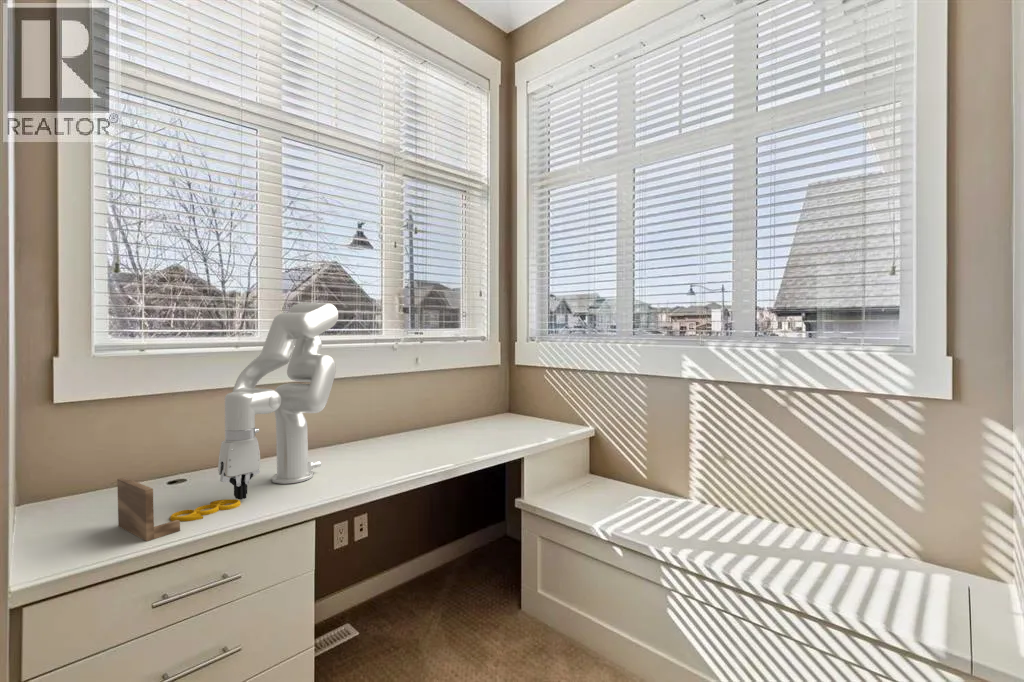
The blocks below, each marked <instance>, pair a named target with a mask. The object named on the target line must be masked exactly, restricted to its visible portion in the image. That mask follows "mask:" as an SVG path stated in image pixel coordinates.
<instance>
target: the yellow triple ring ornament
mask: <svg viewBox="0 0 1024 682" xmlns="http://www.w3.org/2000/svg"><path fill="white" fill-rule="evenodd" d="M241 503H242V501H241V500H239V499H236V498H235V499H231V498H230V499H229V498H226V499H217V500H213V501H211V502H209V503H208V504H203V505H201V506H198V507H196V508H195V509H182V510H178V511H175V512H173V513H172V514H171V515H170V516H169V517H170V518H169V520H170V522H172V521H175V520H179V521H180V522H191V521H192V522H193V521H198V520H202V519H204V516H209V515H212V514H216V513H217V512H219V511H228V510H233V509H236V508H239V507H240V506H241V505H242V504H241Z"/></svg>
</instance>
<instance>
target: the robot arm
mask: <svg viewBox="0 0 1024 682" xmlns="http://www.w3.org/2000/svg"><path fill="white" fill-rule="evenodd" d="M338 320H339V311H338V309H337V307H336V306H335V305H334V304H332V303H330V302H306V303H297V304H294V305H292V307H291V308H290V309H289V312H284V313H279V314H277V315H276V316H275V317H274V318H273V319H272V322H271V325H270V328H269V330H268V333H267V336H266V339H265V341H264V344H263V346H262V350H261V352H260V353H259V355H257V357H255V358H254V359H253V360H251V362H250V363H248V365H247V366H245V368H244V369H243V370H242V371H241V372H240V373H239V375H238V376H237V379H236V381H235V383H234V387H233V389H232V392H228V393H226V395H225V397H224V440H223V441H221V444H220V448H219V454H218V455H219V456H218V465H217V472H218V475H220V478H219V481H220V482H222V483H230V484H231V485H233V496H234V498H235V499H236V500H239V501H242V500H243V499H247V495H248V485H249V484H250V481H251V480H252V478H253V477H255V476H257V475H259V474H260V472H261V471H260V468H261V452H260V445H259V444H260V443H259V441H258V437H256V434H257V433H259V432H260V429H259V427H256V420H255V419H256V416H257V415H265V414H268V415H269V414H271V413H274V417H275V435H276V439H275V440H276V441H275V442H276V446H275V447H276V449H275V450H276V473H275V474H273V475H272V476H271V482H272V483H275V484H281V485H287V484H295V483H296V484H297V483H301V482H305V481H308V480H310V479H312V478H313V477H314V472H313V471H312V470H313V469H315V468H319V467H321V465H322V462H321V461H320V460H317V461H314V462H313V461H309V443H308V441H309V440H308V439H309V438H308V437H309V435H308V433H309V432H308V430H309V429H308V421H307V419H306V416H305V414H318V413H320V412H322V411H323V410H324V409H325V407H326V406H327V403H328V400H329V398H330V394H331V390H332V388H333V383H334V380H335V377H336V371H337V370H336V362H335V360H334V358H333V357H332V356H330V355H328V354H323V353H321V350H322V346H323V342H322V339H321V337H320V335H322V334H323V333H325V332H326V331H328V330H330V329H332V328H333V327H334V326H335V325H336V324H337V322H338ZM286 365H288V366H287V367H286V368H287V369H286V374H287V377H288V378H289V379H290V381H291V380H292V381H294V382H293V383H292V382H291V383H290V382H289V383H283V384H281V385H278V386H277V387H276V388H275V389H272V388H258V387H256V386H257V384H258V383H259V381H261V380H262V378H263V377H265V376H266V375H267V374H269V373H271V372H274V371H275V370H276V371H277V370H279V369H280V368H282V367H284V366H286ZM295 382H297V383H295ZM298 382H300V383H298ZM301 382H302V383H301ZM303 382H304V383H303Z"/></svg>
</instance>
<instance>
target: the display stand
mask: <svg viewBox="0 0 1024 682" xmlns="http://www.w3.org/2000/svg"><path fill="white" fill-rule="evenodd" d="M116 482H117V484H116V485H117V519H118V521H117V523H118V525H117V526H118V527H119V528H120V529H123V530H124V531H126V532H129V533H131V534H132V535H134V536H136V537H138V538H140V539H141V540H143V541H146V542H149V541H152V540H155V539H158V538H161V537H165V536H169V535H170V534H171V535H172V534H175V533H178V532H180V531H181V521H179V520H175V521H169V522H165V523H162V524H159V525H156V526H155V522H154V520H155V519H154V518H155V516H154V515H155V514H154V489H153V488H152V487H150V486H148V485H145V484H142V483H139V482H138V481H135V480H133V479H129V478H127V477H121V478H117V480H116Z"/></svg>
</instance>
